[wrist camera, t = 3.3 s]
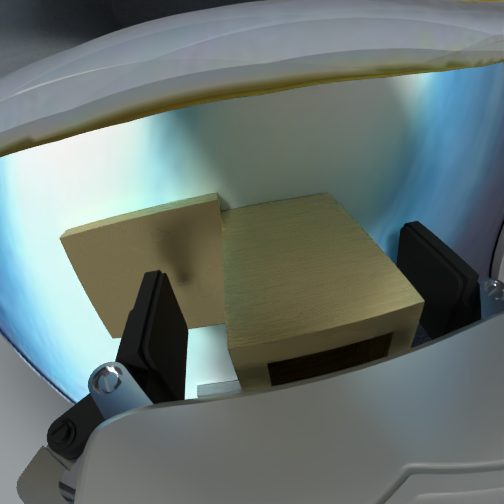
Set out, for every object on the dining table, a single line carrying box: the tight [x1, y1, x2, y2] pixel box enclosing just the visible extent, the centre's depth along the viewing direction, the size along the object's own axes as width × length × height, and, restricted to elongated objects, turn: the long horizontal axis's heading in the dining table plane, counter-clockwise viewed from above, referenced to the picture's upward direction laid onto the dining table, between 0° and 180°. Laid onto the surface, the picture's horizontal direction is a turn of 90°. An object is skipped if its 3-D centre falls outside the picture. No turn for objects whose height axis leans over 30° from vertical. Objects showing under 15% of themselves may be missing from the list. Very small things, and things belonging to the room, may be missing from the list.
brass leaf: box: [60, 193, 425, 392], centre depth 10 cm, size 11×6×7 cm, turn 99°
